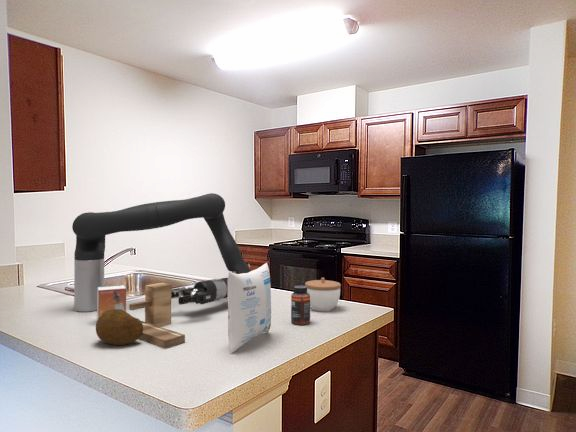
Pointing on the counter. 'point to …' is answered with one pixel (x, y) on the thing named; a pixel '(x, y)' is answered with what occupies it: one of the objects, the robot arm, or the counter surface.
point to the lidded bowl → (323, 294)
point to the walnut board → (161, 336)
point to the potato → (118, 327)
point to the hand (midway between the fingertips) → (170, 298)
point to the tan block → (156, 304)
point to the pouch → (248, 305)
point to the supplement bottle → (300, 306)
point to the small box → (110, 299)
